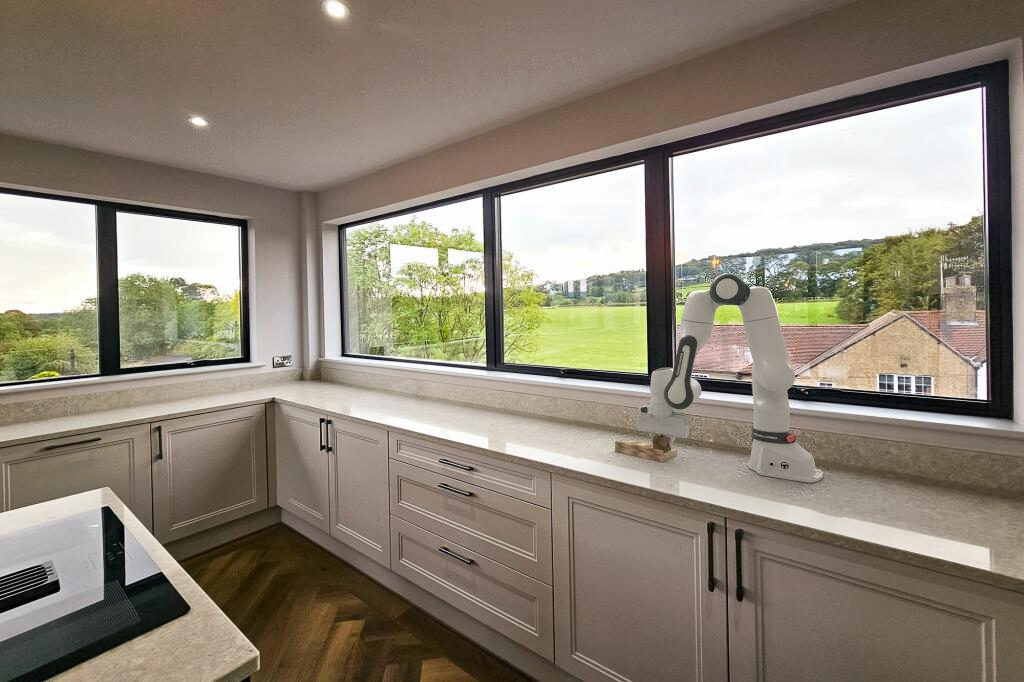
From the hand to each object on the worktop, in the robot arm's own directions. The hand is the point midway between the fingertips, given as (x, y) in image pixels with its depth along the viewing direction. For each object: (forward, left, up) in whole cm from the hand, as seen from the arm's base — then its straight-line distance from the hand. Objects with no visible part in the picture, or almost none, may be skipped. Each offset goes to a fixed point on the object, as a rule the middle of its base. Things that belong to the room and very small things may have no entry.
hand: (662, 445), depth 184 cm
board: (+6, +2, -4) cm, 7 cm away
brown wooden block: (0, 0, -2) cm, 2 cm away
